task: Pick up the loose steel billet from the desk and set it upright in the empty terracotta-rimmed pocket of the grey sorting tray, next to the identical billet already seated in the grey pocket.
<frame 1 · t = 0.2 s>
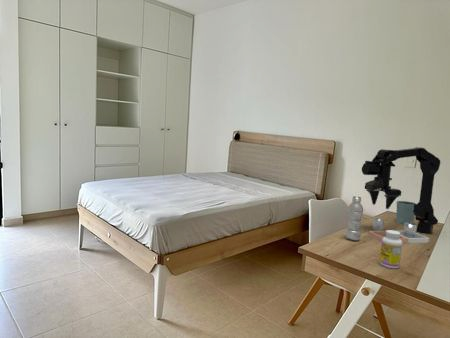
hand: (380, 206, 154), 14 cm above the table, tool pointing down, fingers open, 9 cm apart
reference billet: (408, 238, 148), point 1 cm above the table, touching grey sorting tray
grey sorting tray: (397, 240, 146), on the table
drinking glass: (404, 223, 181), on the table
plastic bottle: (352, 240, 144), on the table
supplement bottle: (389, 265, 116), on the table
steel billet: (377, 231, 160), on the table
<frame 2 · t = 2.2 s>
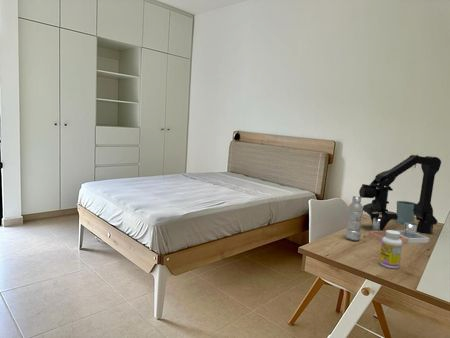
hand: (377, 228, 160), 2 cm above the table, tool pointing down, fingers closed on steel billet, 5 cm apart
steel billet: (377, 231, 160), on the table, touching gripper
everything else where it was.
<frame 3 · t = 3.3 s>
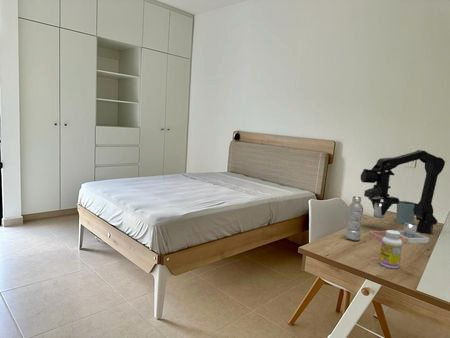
hand: (379, 213, 159), 9 cm above the table, tool pointing down, fingers closed on steel billet, 5 cm apart
steel billet: (378, 216, 159), point 8 cm above the table, touching gripper
everything else where it was.
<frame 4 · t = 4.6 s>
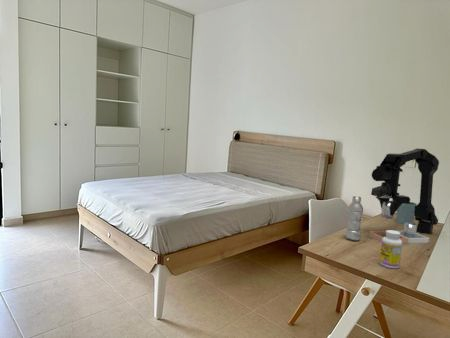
hand: (387, 214, 146), 12 cm above the table, tool pointing down, fingers closed on steel billet, 5 cm apart
steel billet: (386, 217, 147), point 11 cm above the table, touching gripper
everything else where it was.
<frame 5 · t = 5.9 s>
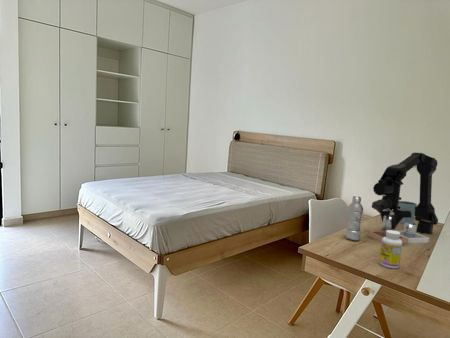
hand: (388, 227, 144), 6 cm above the table, tool pointing down, fingers closed on steel billet, 5 cm apart
steel billet: (388, 230, 145), point 5 cm above the table, touching gripper
everything else where it was.
when the fingers open (4 cm above the table, at t = 7.2 s): steel billet drops 1 cm, resting on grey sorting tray.
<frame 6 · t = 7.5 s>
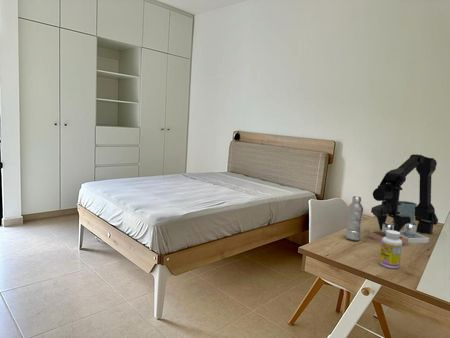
hand: (387, 232, 145), 4 cm above the table, tool pointing down, fingers open, 8 cm apart
steel billet: (387, 239, 145), point 1 cm above the table, touching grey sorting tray
everything else where it was.
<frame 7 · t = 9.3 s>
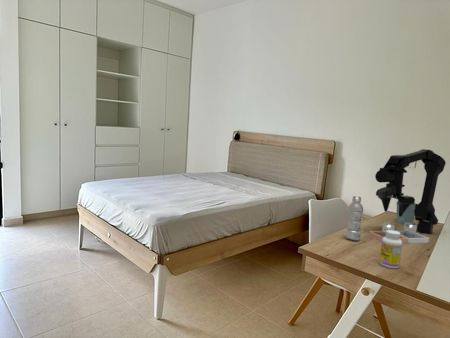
hand: (392, 213, 151), 11 cm above the table, tool pointing down, fingers open, 9 cm apart
nothing on the table moved.
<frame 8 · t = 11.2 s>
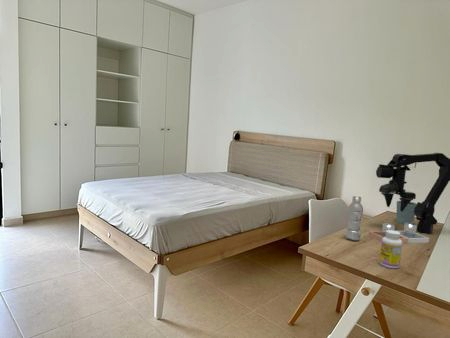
hand: (394, 209, 160), 12 cm above the table, tool pointing down, fingers open, 9 cm apart
nothing on the table moved.
at the end: steel billet 0.0 cm from the target spot on the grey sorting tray, point 1.0 cm above the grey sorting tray's base; steel billet tilted 0°; the gripper is holding nothing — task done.
